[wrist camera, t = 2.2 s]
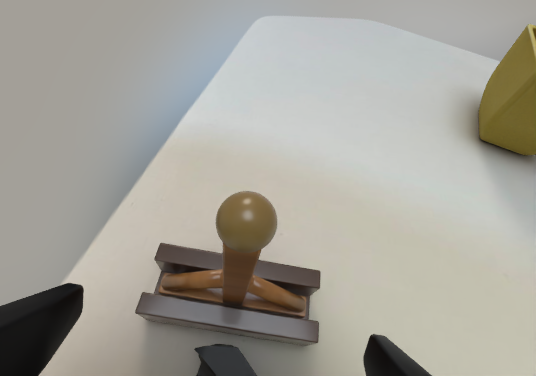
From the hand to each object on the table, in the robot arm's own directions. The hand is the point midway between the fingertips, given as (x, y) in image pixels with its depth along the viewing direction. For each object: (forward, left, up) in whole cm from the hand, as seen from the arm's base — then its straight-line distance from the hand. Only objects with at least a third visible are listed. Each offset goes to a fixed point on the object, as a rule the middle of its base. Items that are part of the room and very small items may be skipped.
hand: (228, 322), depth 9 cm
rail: (+2, 0, -10) cm, 10 cm away
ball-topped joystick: (+2, 0, -10) cm, 10 cm away
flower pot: (+27, -23, -10) cm, 37 cm away
